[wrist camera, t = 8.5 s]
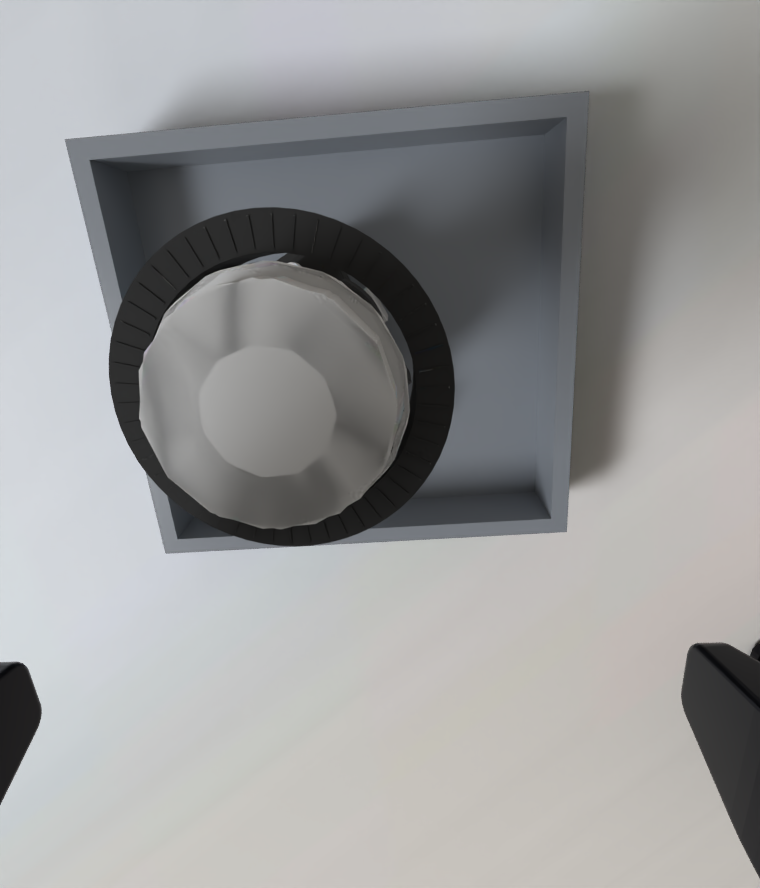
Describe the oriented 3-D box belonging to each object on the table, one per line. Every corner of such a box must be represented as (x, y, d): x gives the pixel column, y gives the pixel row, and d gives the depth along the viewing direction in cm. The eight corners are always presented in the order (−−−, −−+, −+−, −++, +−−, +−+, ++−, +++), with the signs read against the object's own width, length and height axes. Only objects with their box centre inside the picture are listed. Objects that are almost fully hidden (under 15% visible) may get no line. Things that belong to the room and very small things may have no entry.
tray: (558, 116, 15) (589, 91, 13) (545, 497, 19) (566, 532, 17) (114, 156, 16) (64, 139, 13) (192, 517, 20) (165, 553, 17)
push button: (474, 385, 17) (573, 543, 8) (338, 465, 18) (280, 689, 9) (363, 195, 15) (317, 101, 6) (219, 296, 16) (-13, 352, 7)
